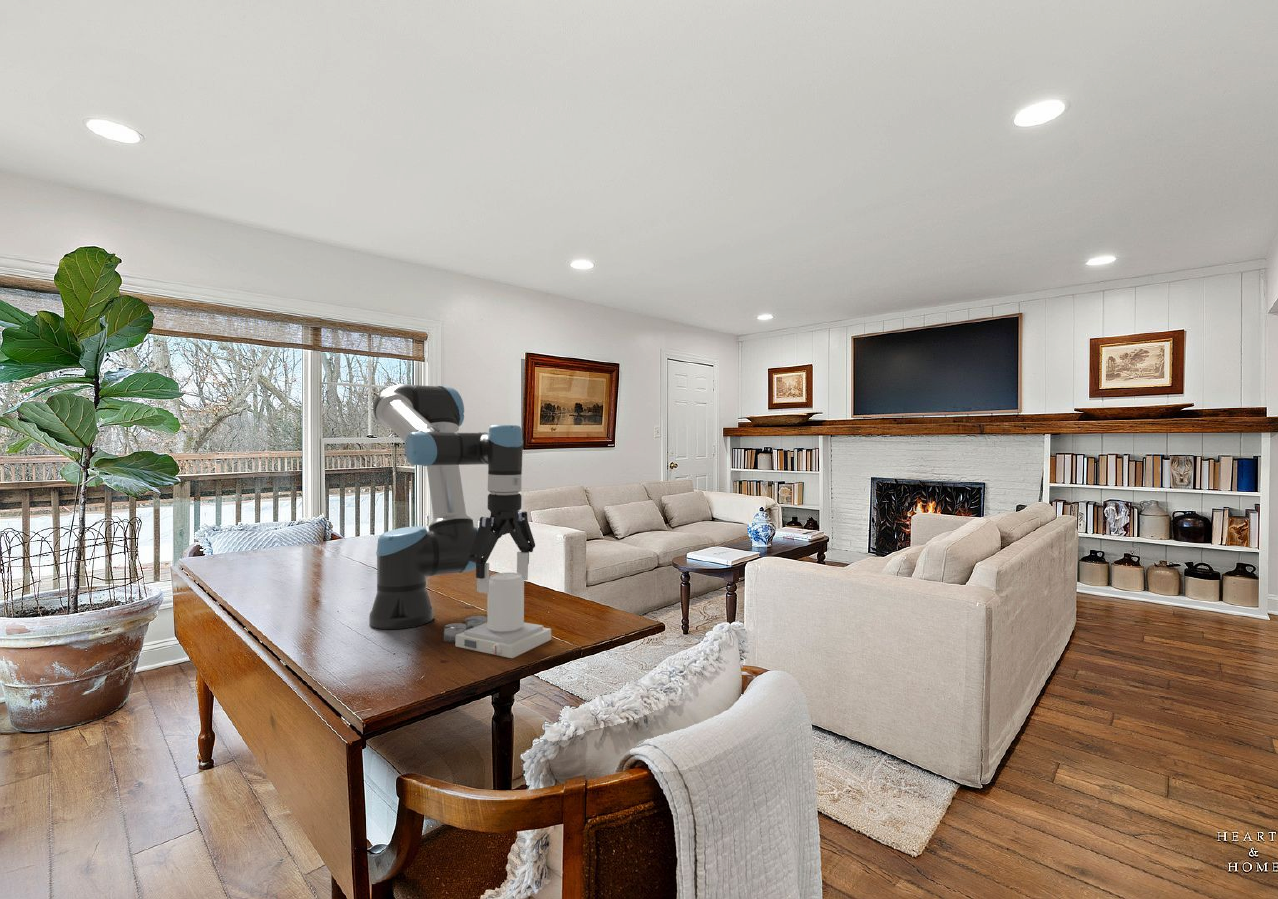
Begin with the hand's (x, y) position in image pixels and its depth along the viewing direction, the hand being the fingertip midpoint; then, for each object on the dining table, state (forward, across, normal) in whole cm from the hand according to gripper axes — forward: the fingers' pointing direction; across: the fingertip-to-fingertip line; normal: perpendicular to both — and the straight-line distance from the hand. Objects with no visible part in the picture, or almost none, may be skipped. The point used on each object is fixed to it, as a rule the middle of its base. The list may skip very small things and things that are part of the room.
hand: (503, 586), depth 139 cm
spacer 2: (+13, +4, +11) cm, 18 cm away
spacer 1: (+13, -3, +11) cm, 18 cm away
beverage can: (+10, 0, -1) cm, 10 cm away
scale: (+13, 0, -1) cm, 13 cm away
